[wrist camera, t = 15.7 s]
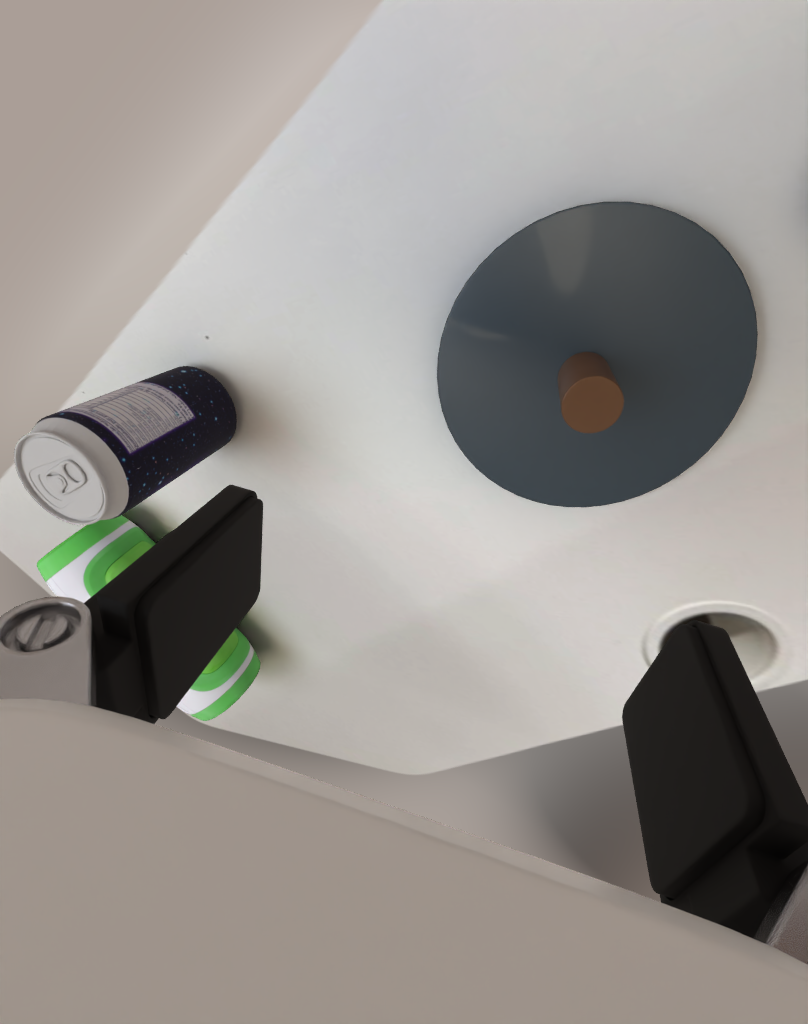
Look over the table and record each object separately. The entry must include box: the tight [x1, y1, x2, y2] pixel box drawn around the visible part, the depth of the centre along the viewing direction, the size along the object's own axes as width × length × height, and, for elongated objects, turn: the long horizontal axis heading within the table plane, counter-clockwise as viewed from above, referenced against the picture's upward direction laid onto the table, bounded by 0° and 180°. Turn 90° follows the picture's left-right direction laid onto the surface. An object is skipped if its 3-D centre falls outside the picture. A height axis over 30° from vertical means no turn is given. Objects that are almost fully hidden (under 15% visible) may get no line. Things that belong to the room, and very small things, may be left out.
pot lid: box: [437, 202, 758, 507], centre depth 24 cm, size 16×16×6 cm
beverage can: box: [14, 366, 237, 525], centre depth 28 cm, size 6×6×12 cm
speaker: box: [37, 515, 260, 721], centre depth 40 cm, size 18×7×8 cm, turn 36°
